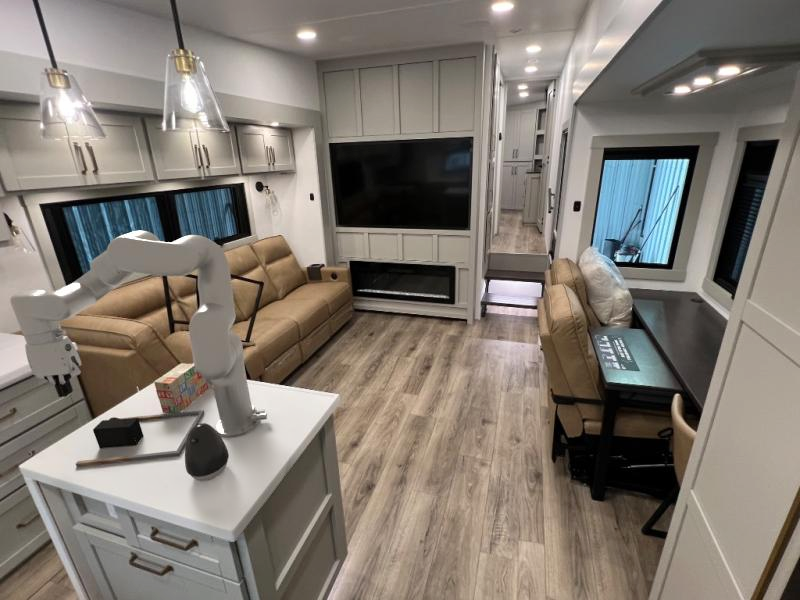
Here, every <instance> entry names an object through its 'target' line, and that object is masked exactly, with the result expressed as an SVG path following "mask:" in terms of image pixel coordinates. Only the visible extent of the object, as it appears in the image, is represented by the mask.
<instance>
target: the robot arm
mask: <svg viewBox="0 0 800 600" xmlns="http://www.w3.org/2000/svg"><path fill="white" fill-rule="evenodd" d="M89 267H90V269H89V270H88V271H87V272H85V274H83V275H81V276H80V277H79V278H77V279H76V280H75V281H73V282H72V283H69V284H68V285H65V286H63V287H60V288H58V289H57V290H53V291H51V292H48V291H46V290H43V289H32V290H25V291H22V292H21V291H20V292H18V293H16V294H13V295H12V296H11V297H10V304H11V308H12V310H13V312H14V315H15V317H16V319H17V322H18V324H19V328H20V329H21V330H20V331H21V332H22V334H23V335H22V336H23V338H24V340H25V345H24V346H25V348H24V349H25V354H26V359H27V362H28V366H29V368H30V371H31V373H32V374H33V375H34V376H35V377H36V378H37V379H39V380H45V381H48V382H49V384H50V385H52V386H54V387H55V391H56V394H57V396H58V397H59V398H62V397H63V398H65V397H66V398H67V396H69V395H70V394H71V393H73V391H74V389H73V386H72V384H71V381H70V380H72V378H73V377H77V376H79V375H80V374H81V373H82V372H81V369H80V368H79V367H81V366H82V361H81V358H80V355H79V353H78V351H77V350H76V348H75V345H74V343H73V341H72V340H71V339H70V338H69V336H67V331H66V330H64V329H62V326H61V324H60V322H61V321H66V320H69V319H71V318H72V317H75V316H76V315H78V314H79V313H80V312H82V311H84V310H86V309H87V308H90V307H91V306H93V305H94V304H96V303H97V302H98V301H100V300H101V299H103V298H104V297H105V296H107V295H108V294H109V293H111V292H112V291H114V290H115V289H116V288H118V287H120V286H121V285H122V284H124V283H125V282H127V281H128V280H129V279H130V278H132V277H133V276H134V275H136V274H137V273H138V274H144V275H146V274H147V275H157V276H165V277H166V276H167V277H184V276H185V277H186V276H187V275H190V274H192V273H194V272H195V271H197V290H198V296H199V307H198V309H197V310H196V311H195V312H194V314H193V315H192V316H191V319H190V321H189V325H188V333H189V334H188V335H189V340H190V347H191V348H190V349H191V354H192V360H193V363H194V365H195V368H196V370H197V372H198V373H199V374H200V375H201V376H202V377H204V378H206V379H209V380H211V381H212V385H213V386H212V389H213V393H214V398H215V402H216V407H217V411H218V416H219V420H218V421H217V424H216V426H215V428H216V429H215V430H216V431H217V432H218V434H219V435H220V436H221V437H223V438H235V437H238V436H240V437H241V436H243V435H245V434H247V433H249V432H251V431H252V430H254V429H255V428H256V427H257V426H258V425H259V423H260V421H261V420H262V421H264V420H267V419H268V413H267V412H266V410H265V409H256V407H255V405H252V400H251V396H250V390H249V384H248V379H247V374H246V369H245V359H244V348H243V342H242V340H241V338H240V337H239V335H238V334H237V333H235V332H234V331H231V330H230V329H231V328H232V326H233V325H234V323H235V320H236V307H235V300H234V292H233V291H234V290H233V286H232V277H231V269H230V264H229V261H228V258H227V255H226V253H225V252H224V250H223V249H222V248H221V246H220V245H219V244H217V243H216V242H215V241H213V240H211V239H210V238H208V237H205V236H203V235H200V234H199V235H198V234H189V235H185V236H183V237H180V238H178V239H176V240H173V241H172V242H169V241H168V242H165V241H161V240H160V239H159V238H158V237H157V236H156V235H155V234H154V233H152V232H150V231H146V230H134V231H131V232H128V233H125V234H122V235H119V236H117V237H114V239H112V240H111V241H110V242H109V243H108V246H107V247H106V250H104V251H103V252H101V254H99V255H97V256H96V257H95V258H93V259H92V261H90V265H89Z"/></svg>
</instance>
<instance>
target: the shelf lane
mask: <svg viewBox="0 0 800 600" xmlns="http://www.w3.org/2000/svg"><path fill="white" fill-rule="evenodd" d="M162 414H163V413H162ZM162 414H161V413H160V414H151V415H150V414H149V415H139V416H131V417H130V416H129V417H120V418H119V417H118V418H119V419H127V418H138V420H139V422H146V421H147V422H148V421H157V420H163V419H162V417H161V416H162ZM132 455H133V454H132ZM132 455H125V456H123V455H122V456H114V457H105V458H97V459H96V458H95V459H86V460H85V459H84V460H78V461H76V462H75V466H76V468H81V466H84V467H92V466H100V465H101V466H102V465H109V464H119V463H129V462H132V461H131V460H130V457H131V456H132Z"/></svg>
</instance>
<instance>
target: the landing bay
mask: <svg viewBox="0 0 800 600" xmlns="http://www.w3.org/2000/svg"><path fill="white" fill-rule="evenodd" d="M204 413H206V412H205V410H204V409H201V410H193V411H192V410H191V411H182V412H180V413H162V416H161V417H162V419H161V420H166V419H177V418H187V417H188V416H189V417H196V418H195V420H194V421H193V423H192V424H191V426H190V427H189V430H188V431H187V433H186V434H185V436H184V438H183V439H182V441H181V443H180V444H179V446H178V448H177V449H176V450H169V451H161V452H153V453H150V452H149V453H142V454H141V453H140V454H132V456H131V455H130V456H131V457H130V460H131V461H130V462H137V461H138V462H139V461H146V460H157V459H158V460H159V459H166V458H174V457H180V456H181V455H182V453H183V451H185V447H186V440H187V437H188V434H189V432H190V430H191V429H192V428H193V427H194V426H195V425H197V424H200V422H201V420H202V419H203V417H204V415H205V414H204ZM189 417H188V418H189Z"/></svg>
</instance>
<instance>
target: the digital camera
mask: <svg viewBox="0 0 800 600" xmlns="http://www.w3.org/2000/svg"><path fill="white" fill-rule="evenodd" d="M126 418H127V419H119V417H114V416H113V417H110V418H109V419H105V420H104V419H103V420H101V421H100V422H99V423H98V424H97V425H96V426H95V427H94V428H93V429H92V431H93V434H94V437H95V439H96V443H97V445H98V447H99V449H110V448H122V447H136V446H137V445H138V444H139V443H140V441H141V440H142V439H143V438H144V433H143V429H142V427H141V424H140V421H139V420H138V418H128V417H126Z"/></svg>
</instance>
